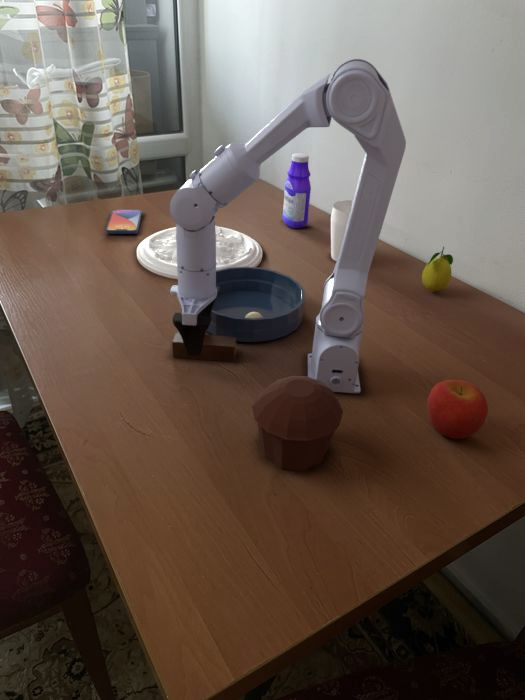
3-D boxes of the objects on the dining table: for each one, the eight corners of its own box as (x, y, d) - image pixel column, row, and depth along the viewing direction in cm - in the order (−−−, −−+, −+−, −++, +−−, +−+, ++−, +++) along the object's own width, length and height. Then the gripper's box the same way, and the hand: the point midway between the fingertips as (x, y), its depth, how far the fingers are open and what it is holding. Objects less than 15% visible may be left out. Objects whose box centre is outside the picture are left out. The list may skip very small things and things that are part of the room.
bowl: (302, 349, 93) (304, 323, 90) (183, 340, 93) (182, 314, 90) (302, 293, 109) (304, 270, 107) (202, 286, 110) (201, 263, 107)
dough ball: (268, 326, 93) (256, 339, 95) (267, 313, 96) (255, 325, 98) (252, 317, 92) (240, 330, 94) (251, 304, 94) (239, 317, 96)
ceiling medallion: (220, 222, 140) (221, 210, 138) (287, 263, 121) (288, 250, 119) (116, 242, 126) (115, 229, 124) (173, 292, 107) (172, 278, 105)
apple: (454, 457, 73) (470, 412, 68) (409, 424, 78) (421, 380, 74) (489, 436, 77) (505, 392, 72) (444, 405, 82) (457, 363, 78)
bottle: (278, 220, 143) (283, 151, 133) (297, 218, 145) (303, 150, 135) (291, 230, 137) (297, 159, 128) (310, 228, 139) (318, 158, 130)
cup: (364, 268, 121) (373, 216, 114) (323, 263, 122) (330, 211, 115) (366, 253, 128) (374, 202, 121) (328, 248, 129) (334, 198, 123)
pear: (419, 298, 110) (430, 252, 105) (413, 284, 115) (423, 240, 110) (452, 300, 110) (464, 254, 105) (444, 286, 115) (456, 242, 110)
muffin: (289, 407, 80) (294, 351, 74) (352, 445, 74) (364, 386, 68) (232, 449, 72) (234, 389, 66) (298, 494, 66) (306, 432, 61)
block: (234, 362, 88) (234, 346, 87) (172, 357, 89) (172, 342, 87) (236, 351, 91) (236, 336, 89) (176, 347, 91) (175, 332, 90)
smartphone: (142, 213, 142) (142, 209, 141) (137, 234, 129) (137, 230, 129) (113, 213, 141) (112, 209, 141) (105, 234, 129) (105, 230, 128)
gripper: (179, 242, 87) (181, 316, 94) (159, 283, 75) (163, 364, 82) (223, 245, 87) (222, 319, 94) (210, 287, 75) (210, 368, 82)
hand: (198, 340), depth 88 cm, fingers open, 7 cm apart
